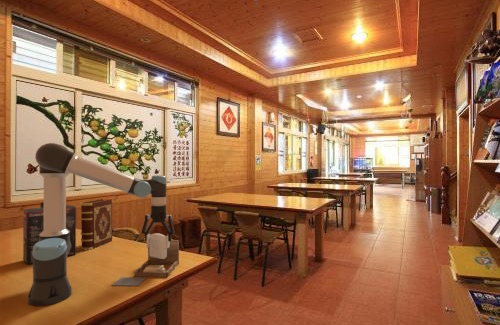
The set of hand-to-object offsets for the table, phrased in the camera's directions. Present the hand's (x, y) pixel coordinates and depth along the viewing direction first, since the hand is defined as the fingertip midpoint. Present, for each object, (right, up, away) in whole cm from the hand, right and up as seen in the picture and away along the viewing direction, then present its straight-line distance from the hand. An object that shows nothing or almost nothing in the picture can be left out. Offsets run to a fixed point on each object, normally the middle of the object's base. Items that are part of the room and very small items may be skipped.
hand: (158, 247), depth 155 cm
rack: (0, -11, -1) cm, 11 cm away
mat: (-8, -12, -17) cm, 22 cm away
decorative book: (-56, -12, +45) cm, 72 cm away
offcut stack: (0, -11, -7) cm, 14 cm away
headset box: (-70, -12, +19) cm, 73 cm away
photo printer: (0, -5, 0) cm, 5 cm away
